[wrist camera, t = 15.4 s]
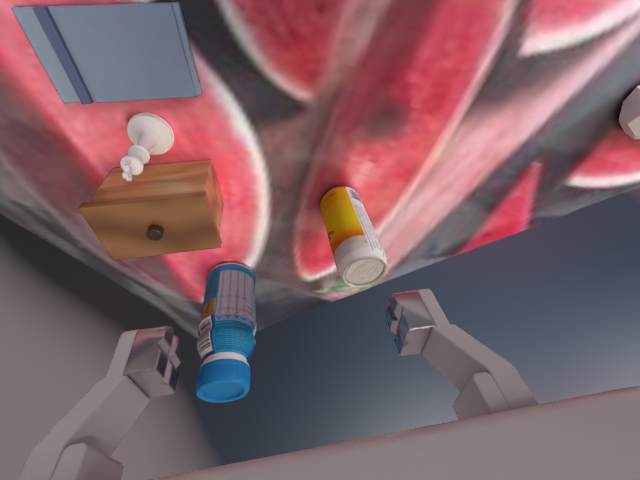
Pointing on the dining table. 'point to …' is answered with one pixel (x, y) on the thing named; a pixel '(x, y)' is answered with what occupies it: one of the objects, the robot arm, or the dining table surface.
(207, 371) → the beverage bottle
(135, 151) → the chess piece
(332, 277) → the dining table surface
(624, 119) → the crystal
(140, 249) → the bread box
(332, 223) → the yellow cylinder
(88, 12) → the grey flat slab
